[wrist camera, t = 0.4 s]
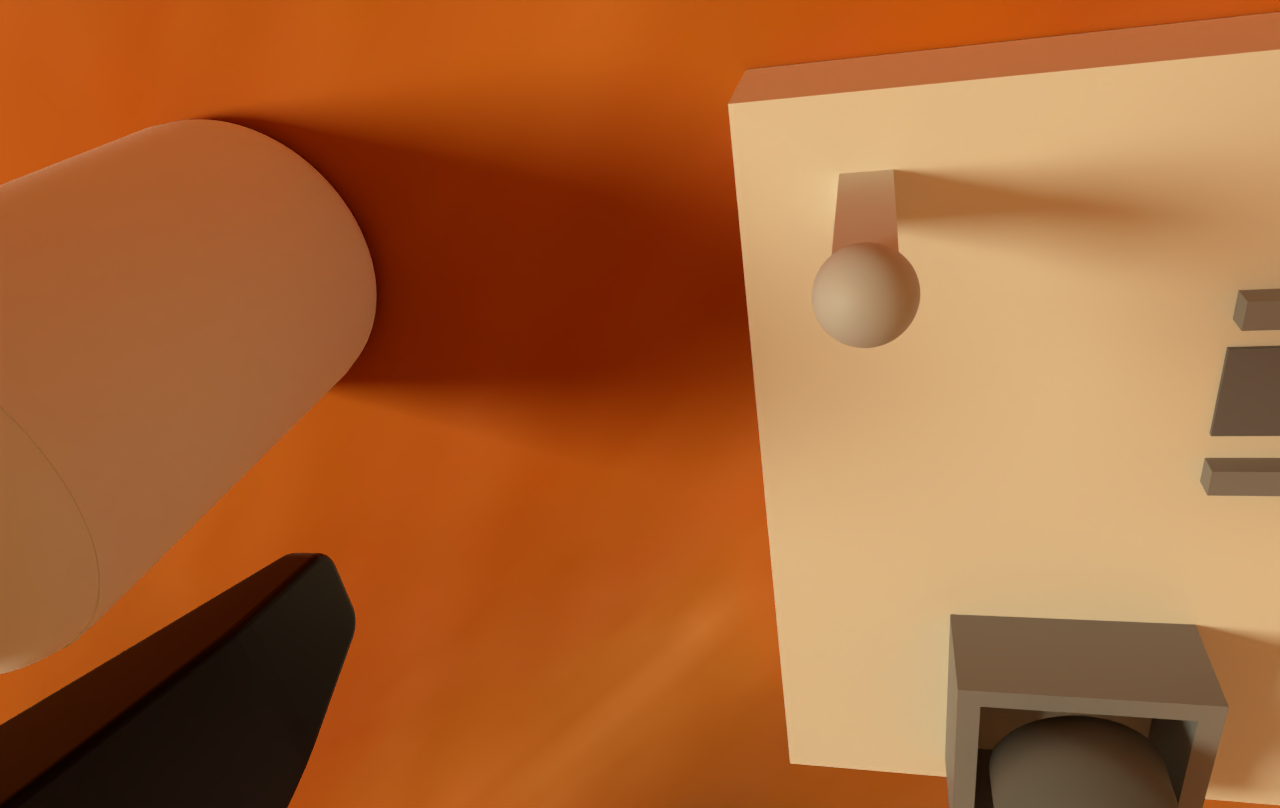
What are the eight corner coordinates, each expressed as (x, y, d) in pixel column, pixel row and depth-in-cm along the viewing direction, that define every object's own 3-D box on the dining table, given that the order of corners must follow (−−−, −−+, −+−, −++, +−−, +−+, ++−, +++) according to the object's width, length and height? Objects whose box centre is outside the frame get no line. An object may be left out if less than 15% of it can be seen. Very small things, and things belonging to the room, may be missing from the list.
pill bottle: (243, 47, 22) (-583, 330, 9) (442, 317, 25) (11, 809, 12) (60, 196, 25) (-721, 548, 13) (254, 418, 28) (-233, 882, 16)
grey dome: (1154, 829, 22) (1174, 902, 20) (985, 813, 23) (993, 882, 21) (1177, 721, 20) (1202, 794, 18) (993, 709, 21) (1002, 777, 19)
